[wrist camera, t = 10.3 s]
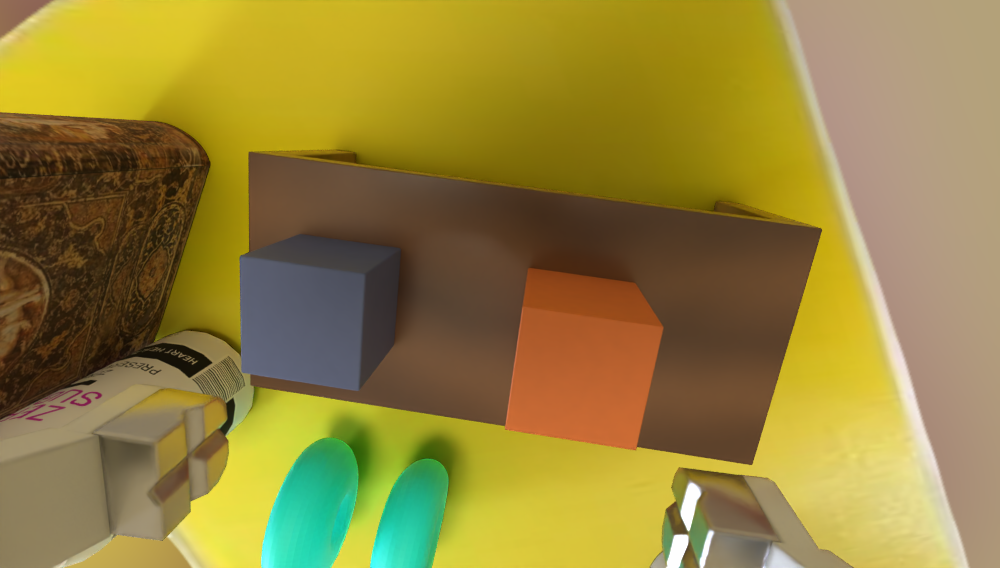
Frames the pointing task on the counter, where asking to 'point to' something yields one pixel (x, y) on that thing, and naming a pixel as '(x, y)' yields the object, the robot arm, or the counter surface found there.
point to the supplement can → (162, 363)
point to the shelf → (561, 248)
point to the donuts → (329, 508)
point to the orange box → (583, 359)
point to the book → (87, 243)
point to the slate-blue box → (318, 310)
